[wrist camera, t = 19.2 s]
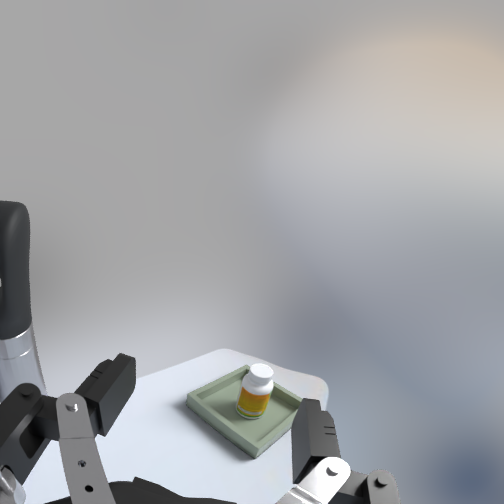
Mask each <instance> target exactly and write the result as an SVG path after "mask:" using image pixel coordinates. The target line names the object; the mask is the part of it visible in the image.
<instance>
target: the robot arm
mask: <svg viewBox="0 0 504 504" xmlns="http://www.w3.org/2000/svg"><path fill="white" fill-rule="evenodd" d="M29 249H30V220H29V214H28V211H27V208H26V207H25V205H24V204H22V203H19V202H11V201H0V278H1V287H0V402H1V404H0V504H24V502H25V499H26V494H25V491H24V489H23V487H22V485H23V483H24V482H25V480H26V479H27V477H28V475H29V474H30V472H31V470H32V469H33V467H34V466H35V464H36V462H37V461H38V459H39V458H40V456H41V455H42V453H43V451H44V450H45V448H46V447H47V445H48V444H49V442H50V441H51V440H55V441H59V446H60V451H61V457H62V462H63V467H64V472H65V476H66V481H67V485H68V489H69V493H70V496H69V497H66V498H62V499H59V500H56V501H52V502H49V503H45V504H237V503H234V502H228V501H222V500H217V499H212V498H188V497H182V496H180V495H178V494H176V493H174V492H172V491H170V490H168V489H166V488H164V487H162V486H160V485H159V484H155V483H152V482H149V481H146V480H143V479H141V478H138V477H134V480H133V482H129V481H116V482H110V483H108V481H107V478H106V475H105V472H104V469H103V466H102V463H101V460H100V456H99V453H98V449H97V446H96V442H95V437H96V436H97V434H100V435H102V436H104V437H105V436H106V435H107V433H108V432H109V430H110V428H111V427H112V425H113V423H114V422H115V420H116V419H117V417H118V415H119V414H120V412H121V411H122V409H123V407H124V406H125V404H126V403H127V401H128V399H129V398H130V396H131V395H132V393H133V391H134V388H135V384H136V360H135V358H134V357H131V356H128V355H125V354H122V353H120V354H118V356H117V357H116V358H115V359H114V360H113V361H112V360H109V359H107V360H105V361H103V362H101V363H100V364H99V365H98V366H97V367H96V368H95V369H94V371H93V372H92V373H91V374H90V376H88V377H87V378H86V380H85V381H84V382H83V383H82V384H81V385H80V386H79V388H78V389H77V390H76V391H75V392H74V393H66V394H63V395H61V396H60V397H59V398H54V397H50V396H48V395H47V391H46V387H45V384H44V379H43V375H42V371H41V366H40V362H39V357H38V352H37V347H36V341H35V336H34V330H33V323H32V316H31V307H30V306H31V304H30V285H29V284H30V283H29ZM291 438H292V469H293V484H298V485H297V486H296V487H295V488H292V489H291V490H290V491H289V492H288V493H286V494H285V495H284V496H283V497H282V498H281V499H280V500H279V501H278V502H277V503H275V504H401V500H400V496H399V492H398V488H397V483H396V479H395V477H394V476H393V475H392V474H391V473H390V472H388V471H385V470H374V471H372V472H371V473H370V474H369V475H367V474H362V473H358V472H355V471H352V470H350V468H349V466H348V465H347V463H346V462H345V461H343V460H341V456H340V451H339V445H338V440H337V435H336V430H335V425H334V421H333V418H332V417H331V415H330V414H329V413H328V412H327V411H321V406H320V401H319V400H315V399H307V398H303V399H302V401H301V403H300V406H299V408H298V410H297V413H296V415H295V417H294V419H293V423H292V428H291Z"/></svg>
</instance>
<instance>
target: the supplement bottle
mask: <svg viewBox="0 0 504 504" xmlns="http://www.w3.org/2000/svg"><path fill="white" fill-rule="evenodd" d="M272 377H273V370H272V369H271V368H270V367H269V366H267V365H265V364H253V365H252V366H251V367H250V369H249V373H248V374H246V375H245V376H244V378H243V380H242V383H241V387H240V391H239V395H238V398H237V402H236V410H237V412H238V413H239V414H240V415H241V416H243V417H245V418H247V419H257V418H260V417H262V416H263V415H264V413H265V410H266V407H267V404H268V401H269V398H270V396H271V393H272V390H273V381H272Z"/></svg>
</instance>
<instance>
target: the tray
mask: <svg viewBox="0 0 504 504" xmlns="http://www.w3.org/2000/svg"><path fill="white" fill-rule="evenodd" d="M249 369H250V367H249V366H248V365H245V366H243V367H241V368H239V369H237V370H235V371H233V372H231V373H229V374H227V375H225V376H223V377H221V378H219V379H217V380H215V381H213V382H211V383H209V384H207V385H205V386H203V387H201V388H199V389H197V390H195V391H192V392H190V393H188V395H187V404H186V405H187V406H188V407H189V408H190V409H191V410H192V411H194V412H195V413H196V414H197V415H198V416H199V417H201V418H202V419H203V420H204V421H205V422H207V423H208V424H209V425H210V426H212V427H213V428H214V429H215V430H217V431H218V432H219V433H220V434H222V435H223V436H224V437H225V438H227V439H228V440H229V441H231V442H232V443H233V444H235V445H236V446H237V447H239V448H240V449H241V450H243V451H244V452H245V453H247V454H248V455H250V456H251V457H253V458H254V459H256V458H257V457H258V456H259V455H261V454H262V453H263V452H264V451H265V450H267V449H268V448H269V447H270V446H271V445H273V444H274V443H275V442H276V441H277V440H278V439H279V438H281V437H282V436H283V435H284V434H285V433H286V432H287V431H288V430H289V429H291V428H292V423H293V419H294V417H295V415H296V413H297V410H298V408H299V406H300V403H301V401H302V398H300V397H298V396H297V395H295V394H293V393H292V392H290V391H288V390H286V389H285V388H283V387H281V386H280V385H278V384H276V383H275V382H273V390H272V393H271V396H270V398H269V401H268V404H267V407H266V410H265V413H264V415H263V416H262V417H260V418H257V419H247V418H245V417H243V416H241V415H240V414H239V413H238V412H237V410H236V402H237V398H238V395H239V391H240V387H241V383H242V380H243V378H244V376H245V375H246V374H248V373H249Z"/></svg>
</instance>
